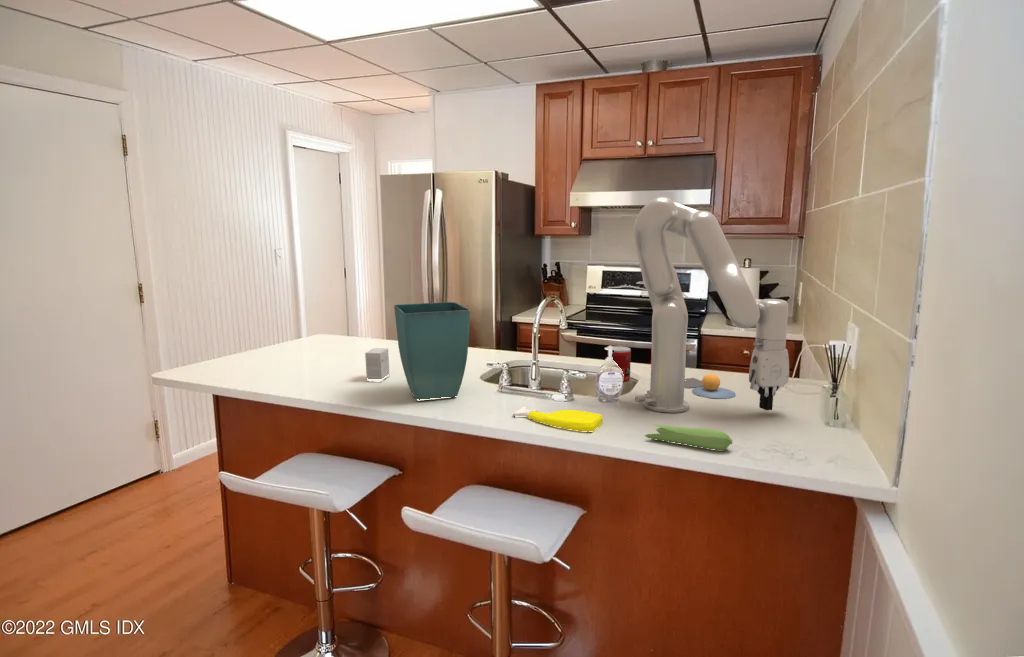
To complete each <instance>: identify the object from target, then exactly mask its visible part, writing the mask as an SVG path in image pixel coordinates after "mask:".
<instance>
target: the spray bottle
mask: <svg viewBox="0 0 1024 657" xmlns="http://www.w3.org/2000/svg"><path fill="white" fill-rule="evenodd" d="M514 416H526V417H528V418H530V419H533V420H535V421H538V422H542V423H545V424H548V425H552V426H556V427H561V428H565V429H572V430H578V431H587V432H589V431H594V430H595V429H596V428H597V427H599V426H600V425H601V424H603V421H604V420H603V418H604V417H603V416H602V414H599V413H597V412H596V413H595V412H591V411H584V410H577V409H561V410H556V411H552V412H549V413H548V412H542V411H539V410H538V409H527V407H526V406H523V407H520V408H518V409H516V411H513V417H514ZM528 418H527V419H528ZM530 419H529V420H530ZM533 420H532V421H533ZM535 421H534V422H535ZM538 422H537V423H538ZM601 426H602V425H601ZM601 426H600V427H601ZM600 427H599V428H600ZM597 429H598V428H597ZM597 429H596V430H597ZM596 430H595V431H596ZM595 431H594V432H595Z"/></svg>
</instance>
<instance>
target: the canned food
mask: <svg viewBox="0 0 1024 657" xmlns="http://www.w3.org/2000/svg"><path fill="white" fill-rule="evenodd" d="M612 347H613V348H614V349H615V350H614V352H613V360H614V361H615V362H616V363H617V364H618V366H619V367H620V368H621V369H622V371H623V374H624V382H623V383H625V382H628V381H630V378H631V362H632V361H631V357H632V350H631V348H630V347H628V346H621V345H620V346H618V345H614V346H612ZM607 357H608V351H607V352H606V358H607Z"/></svg>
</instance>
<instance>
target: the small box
mask: <svg viewBox="0 0 1024 657" xmlns="http://www.w3.org/2000/svg"><path fill="white" fill-rule="evenodd" d="M364 355H365V356H364V358H365V372H366V373H365V374H366V379H367V378H368V379H382V378H384V377H385V376H387V375H388V374H389V375H390V359H389V358H390V357H389V348H383V347H382V348H381V347H379V348H378V347H373V348H372V349H370V350H368V351H366V352H365V353H364Z"/></svg>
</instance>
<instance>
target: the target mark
mask: <svg viewBox="0 0 1024 657" xmlns="http://www.w3.org/2000/svg"><path fill="white" fill-rule="evenodd" d="M691 392H692V394H694V395H695V394H696V396H698V397H701V396H702V398H705V397H707V399H713V398H715V400H721V399H722V400H727V398H728V399H732V398H735V397H736V395H737V394H736V392H735V391H734V390H732V389H727V388H725V387H724V388H723V387H720V386H719V387H718V388H717V389H716V390H714V391H709V390H707V389H705V388H704V387H696V388H692V390H691Z"/></svg>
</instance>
